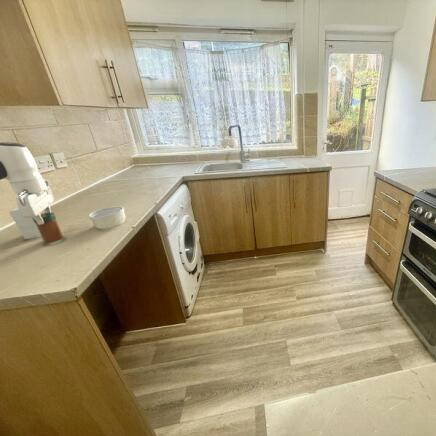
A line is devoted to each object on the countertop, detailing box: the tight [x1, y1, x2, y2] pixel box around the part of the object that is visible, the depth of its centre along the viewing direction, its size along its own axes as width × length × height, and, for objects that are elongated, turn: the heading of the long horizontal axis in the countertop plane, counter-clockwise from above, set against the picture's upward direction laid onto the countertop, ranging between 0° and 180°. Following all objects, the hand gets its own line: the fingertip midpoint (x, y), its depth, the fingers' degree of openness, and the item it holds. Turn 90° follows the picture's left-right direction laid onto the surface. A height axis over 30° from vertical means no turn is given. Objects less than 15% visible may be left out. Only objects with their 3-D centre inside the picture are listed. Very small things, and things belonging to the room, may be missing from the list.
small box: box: [9, 206, 44, 240], centre depth 104 cm, size 8×6×13 cm
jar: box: [36, 218, 64, 244], centre depth 99 cm, size 6×6×11 cm
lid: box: [32, 212, 57, 223], centre depth 97 cm, size 6×6×2 cm
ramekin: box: [88, 205, 127, 230], centre depth 113 cm, size 13×13×7 cm
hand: (45, 220), depth 98 cm, fingers closed on lid, 6 cm apart
